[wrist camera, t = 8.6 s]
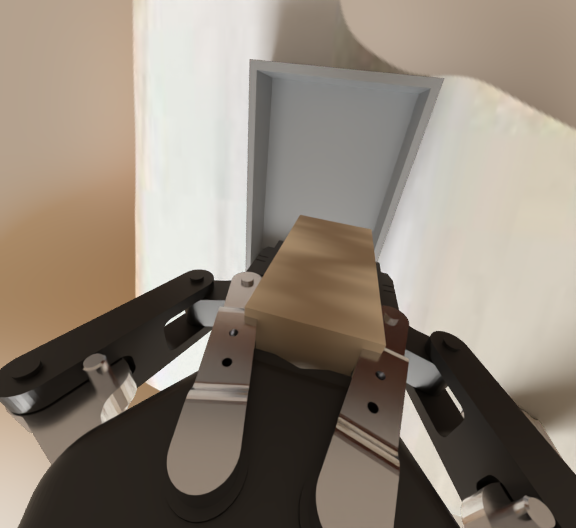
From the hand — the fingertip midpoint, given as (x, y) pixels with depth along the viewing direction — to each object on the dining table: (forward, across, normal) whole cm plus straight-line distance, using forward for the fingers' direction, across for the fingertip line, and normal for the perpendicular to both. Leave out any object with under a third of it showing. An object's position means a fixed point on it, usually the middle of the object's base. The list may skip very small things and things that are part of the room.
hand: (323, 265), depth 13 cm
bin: (+16, +2, 0) cm, 16 cm away
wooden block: (+1, 0, 0) cm, 1 cm away
